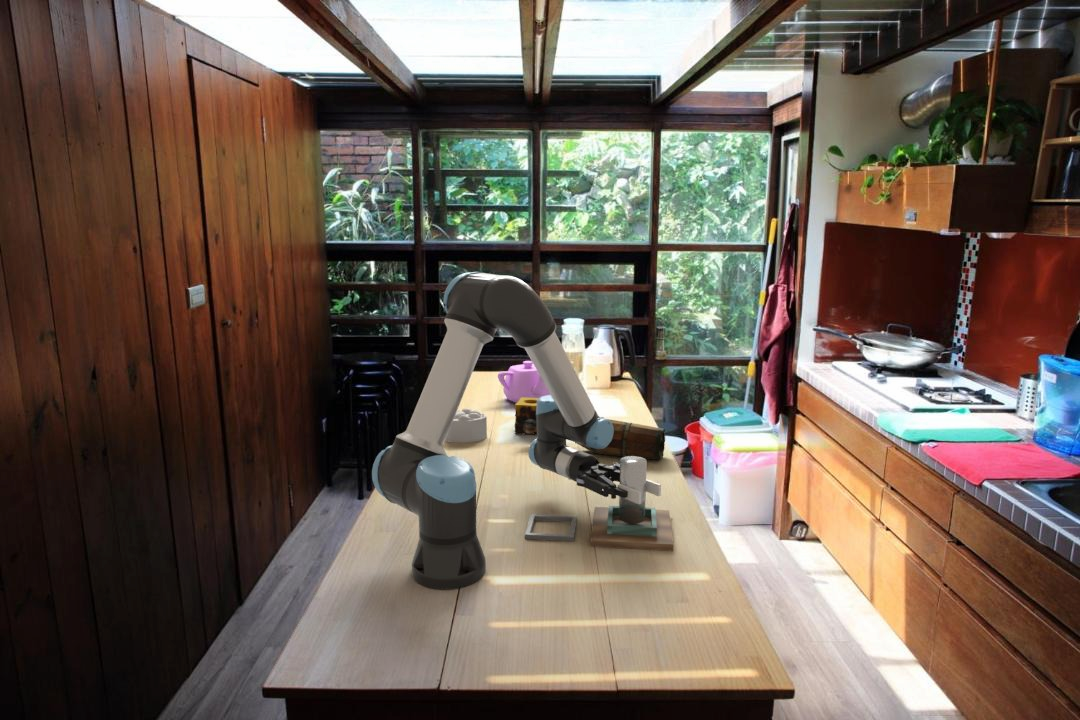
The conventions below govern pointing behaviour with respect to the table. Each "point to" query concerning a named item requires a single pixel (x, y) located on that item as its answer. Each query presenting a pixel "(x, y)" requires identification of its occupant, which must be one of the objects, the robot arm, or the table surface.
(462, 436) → the lumpy-topped squat cylinder
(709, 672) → the table surface
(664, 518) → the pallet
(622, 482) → the billet
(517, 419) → the candle
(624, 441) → the decorative bottle
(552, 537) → the frame
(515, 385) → the teapot
